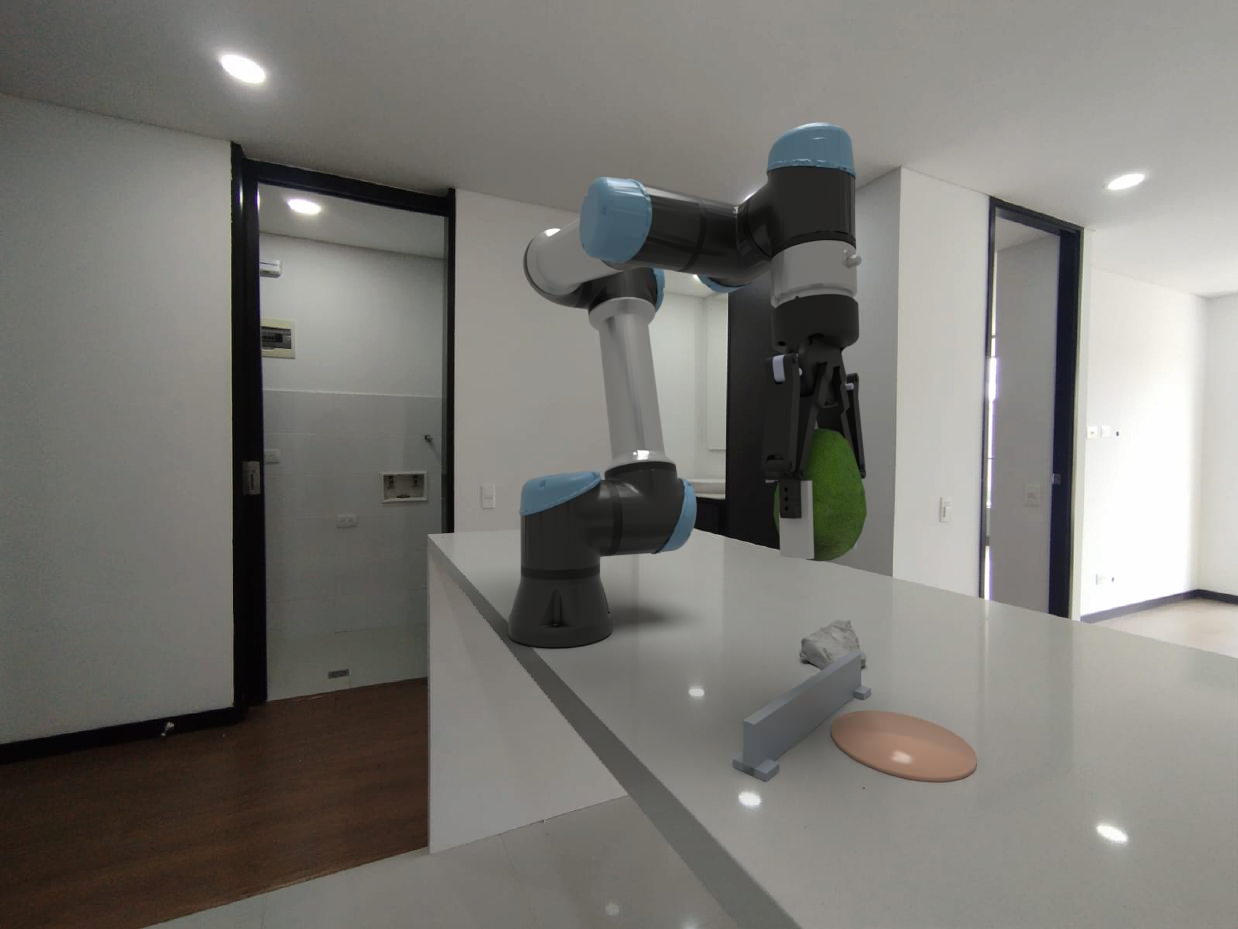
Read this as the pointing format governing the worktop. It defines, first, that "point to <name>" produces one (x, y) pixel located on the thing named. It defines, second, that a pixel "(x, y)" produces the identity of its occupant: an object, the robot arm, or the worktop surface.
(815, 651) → the stone
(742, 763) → the acrylic wall
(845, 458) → the fruit
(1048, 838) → the worktop surface
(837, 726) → the saucer
